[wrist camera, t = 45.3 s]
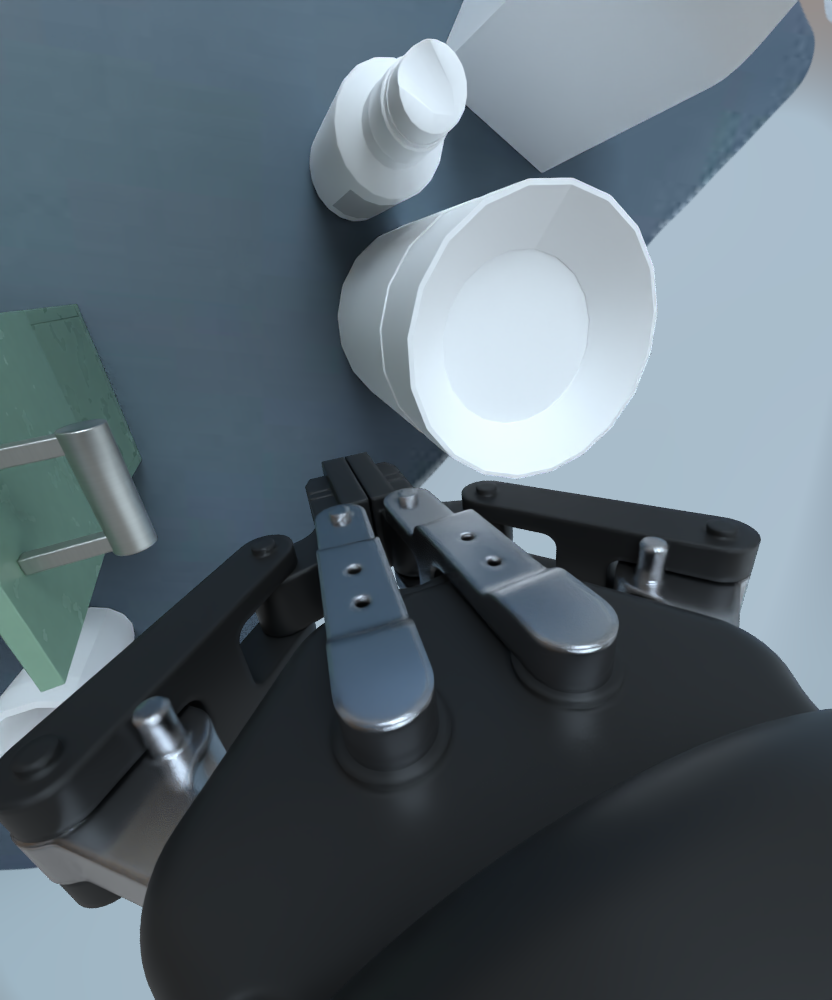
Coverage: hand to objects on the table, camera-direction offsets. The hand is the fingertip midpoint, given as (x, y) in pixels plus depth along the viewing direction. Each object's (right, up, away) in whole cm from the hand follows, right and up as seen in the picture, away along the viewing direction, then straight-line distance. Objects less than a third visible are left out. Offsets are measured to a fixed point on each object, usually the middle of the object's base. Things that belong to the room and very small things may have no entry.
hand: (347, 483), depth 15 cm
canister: (+3, +16, +28) cm, 32 cm away
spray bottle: (-3, +26, +21) cm, 33 cm away
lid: (-16, +1, +6) cm, 17 cm away
